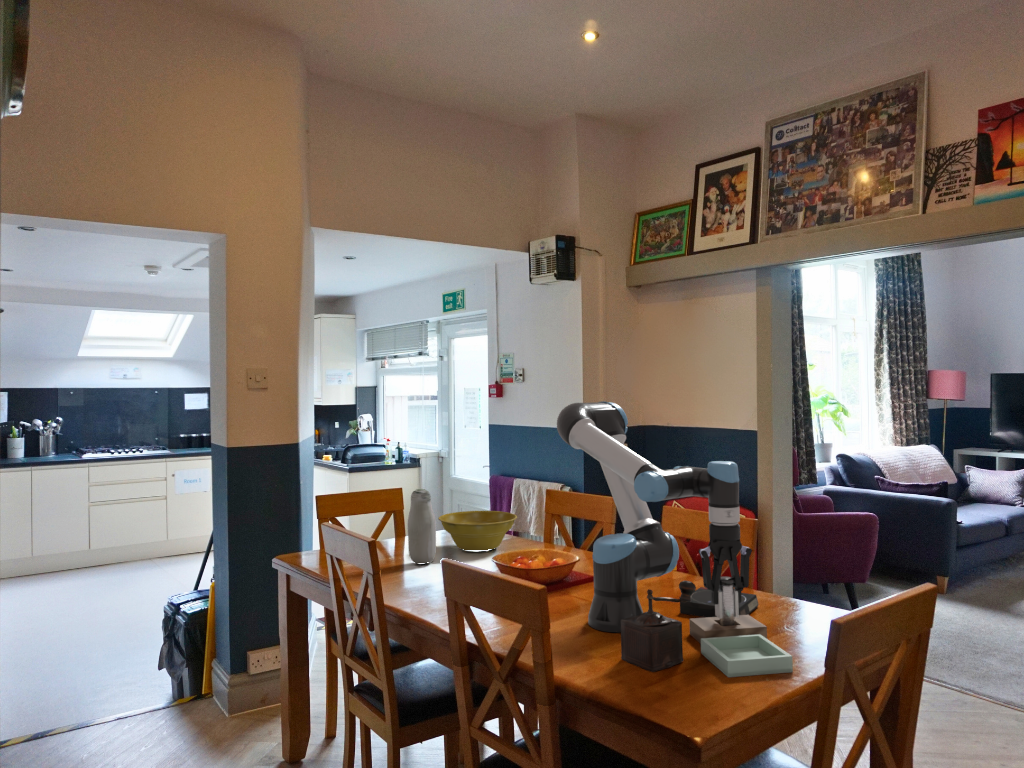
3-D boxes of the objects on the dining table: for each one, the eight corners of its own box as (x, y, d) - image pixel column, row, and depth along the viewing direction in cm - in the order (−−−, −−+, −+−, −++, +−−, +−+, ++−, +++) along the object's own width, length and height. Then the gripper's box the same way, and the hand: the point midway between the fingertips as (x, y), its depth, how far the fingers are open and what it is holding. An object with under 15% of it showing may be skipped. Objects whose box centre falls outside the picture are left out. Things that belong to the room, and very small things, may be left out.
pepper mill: (654, 673, 161) (652, 592, 162) (620, 659, 170) (618, 582, 171) (701, 658, 170) (699, 581, 170) (666, 645, 179) (664, 572, 179)
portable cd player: (740, 624, 195) (740, 609, 195) (680, 614, 205) (679, 600, 205) (758, 609, 209) (758, 595, 209) (701, 600, 218) (700, 587, 218)
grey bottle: (441, 562, 275) (439, 488, 275) (424, 568, 266) (422, 491, 266) (421, 559, 280) (419, 487, 280) (403, 565, 271) (401, 490, 272)
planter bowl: (532, 545, 302) (531, 513, 302) (489, 561, 275) (488, 525, 275) (469, 538, 319) (468, 508, 319) (422, 553, 292) (421, 519, 292)
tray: (728, 677, 158) (727, 661, 158) (701, 653, 173) (700, 638, 173) (792, 672, 160) (792, 656, 160) (760, 648, 175) (760, 634, 175)
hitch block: (705, 647, 177) (704, 631, 177) (689, 634, 187) (689, 618, 187) (767, 642, 179) (766, 626, 179) (748, 630, 189) (748, 614, 189)
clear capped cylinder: (723, 641, 181) (721, 581, 181) (716, 636, 185) (715, 577, 185) (738, 640, 181) (737, 580, 181) (731, 635, 185) (730, 576, 185)
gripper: (698, 527, 179) (701, 622, 178) (762, 524, 181) (765, 618, 180) (687, 521, 186) (689, 613, 186) (748, 519, 188) (751, 609, 188)
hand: (726, 616), depth 183 cm, fingers closed on clear capped cylinder, 3 cm apart
